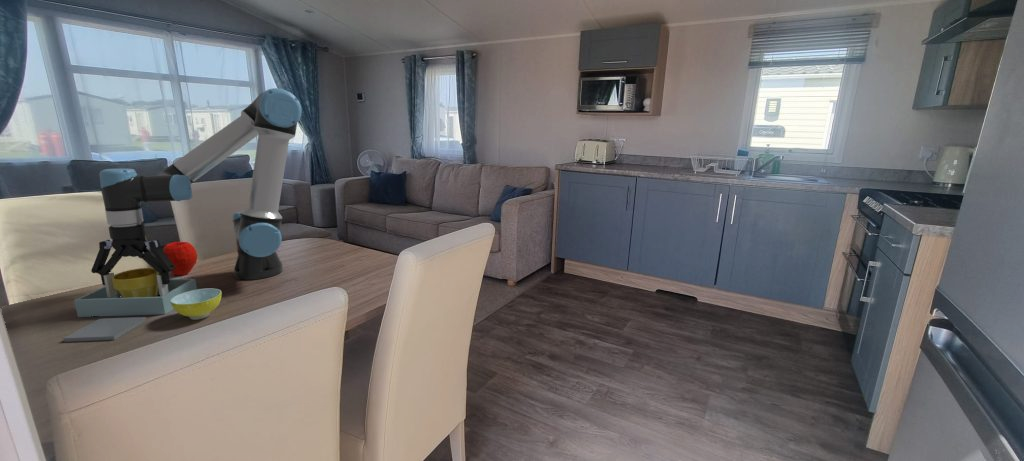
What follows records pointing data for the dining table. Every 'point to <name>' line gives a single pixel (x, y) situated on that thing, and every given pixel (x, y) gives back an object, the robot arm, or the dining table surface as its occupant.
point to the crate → (131, 301)
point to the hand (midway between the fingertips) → (138, 295)
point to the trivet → (105, 329)
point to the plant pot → (136, 283)
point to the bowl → (197, 302)
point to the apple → (181, 256)
